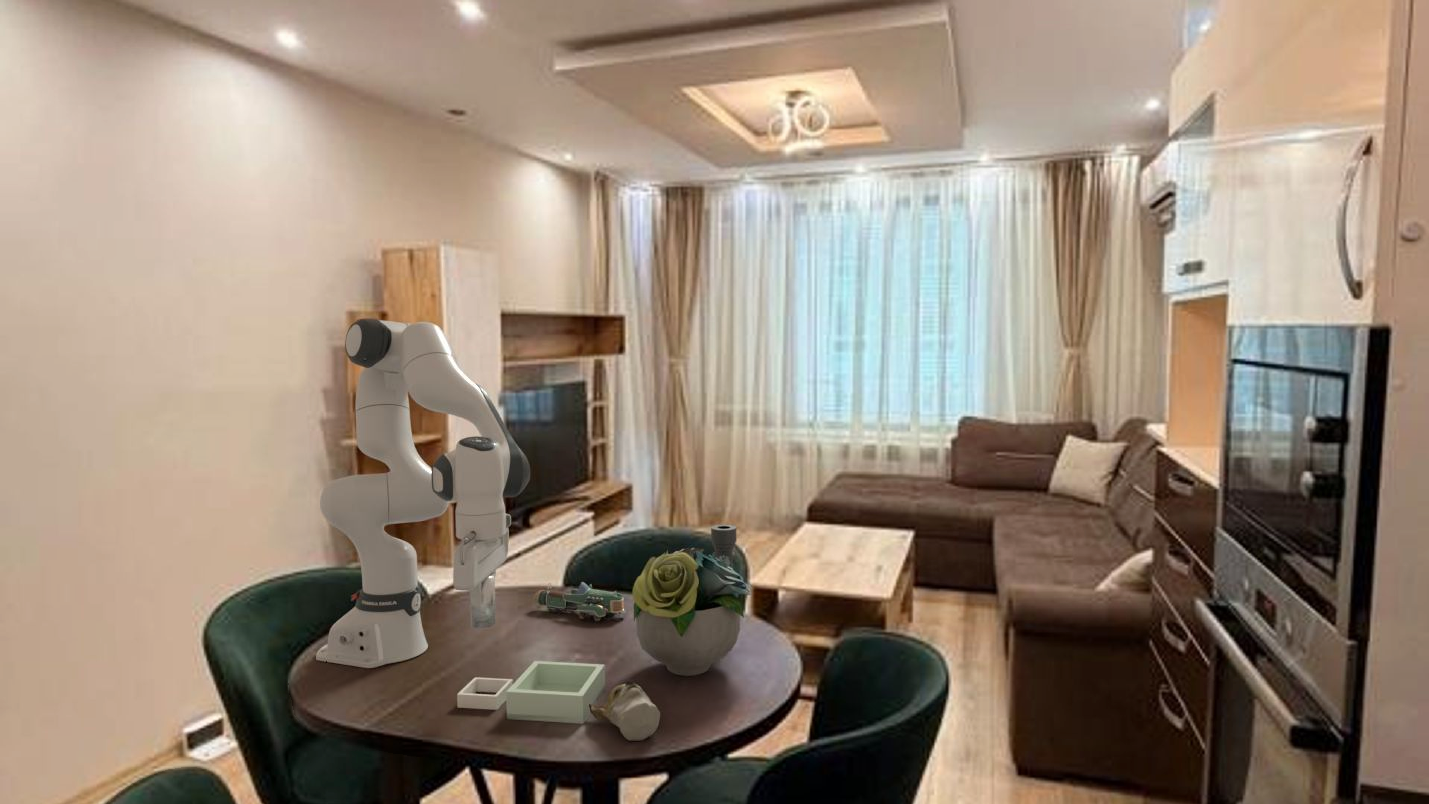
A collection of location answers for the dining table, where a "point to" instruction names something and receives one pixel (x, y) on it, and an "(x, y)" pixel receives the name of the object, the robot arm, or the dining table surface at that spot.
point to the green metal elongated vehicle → (583, 601)
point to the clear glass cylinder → (485, 605)
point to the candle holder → (724, 541)
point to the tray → (556, 692)
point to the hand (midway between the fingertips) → (482, 599)
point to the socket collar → (484, 701)
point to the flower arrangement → (688, 609)
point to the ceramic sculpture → (629, 711)
